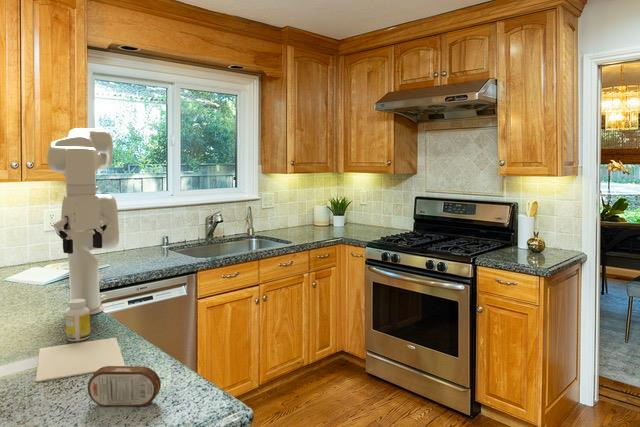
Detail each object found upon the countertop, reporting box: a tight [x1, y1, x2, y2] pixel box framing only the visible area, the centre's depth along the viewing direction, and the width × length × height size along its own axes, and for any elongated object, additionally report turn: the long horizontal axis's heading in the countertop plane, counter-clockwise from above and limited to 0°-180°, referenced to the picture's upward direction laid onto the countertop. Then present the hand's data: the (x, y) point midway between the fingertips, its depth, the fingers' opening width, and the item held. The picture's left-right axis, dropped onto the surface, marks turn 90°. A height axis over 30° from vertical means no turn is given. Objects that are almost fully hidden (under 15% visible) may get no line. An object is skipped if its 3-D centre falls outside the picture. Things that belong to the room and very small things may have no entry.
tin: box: [87, 365, 162, 407], centre depth 105 cm, size 15×3×8 cm, turn 92°
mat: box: [35, 337, 126, 383], centre depth 132 cm, size 24×20×1 cm
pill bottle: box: [64, 299, 91, 342], centre depth 147 cm, size 6×6×12 cm
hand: (83, 250), depth 140 cm, fingers open, 9 cm apart
